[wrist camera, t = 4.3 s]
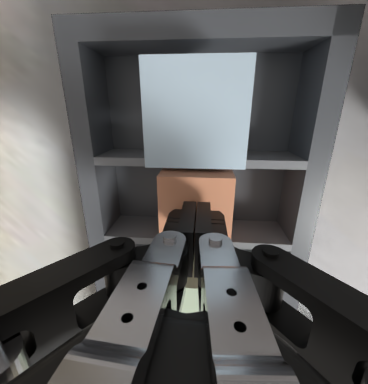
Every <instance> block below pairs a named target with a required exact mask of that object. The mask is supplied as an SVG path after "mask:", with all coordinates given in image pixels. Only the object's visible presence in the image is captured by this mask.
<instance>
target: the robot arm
mask: <svg viewBox="0 0 368 384" xmlns="http://www.w3.org/2000/svg"><path fill="white" fill-rule="evenodd" d="M193 264H194V278H198V310H199V312H193V313H182V312H181V311H182V306H183V301H184V296H185V291H186V284H187V278H188V277H193ZM103 277H104V280H105V288H103V289H101V290H99V291H98V292H96V293H94V294H93V295H91V296H89V297H87V298H86V299H84V300H82V301H80V302H79V303H77V304H75V305H74V306H73V299H74V297H75V295H76V294H77V293H78V292H79V291H80V290H81V289H83V288H85V287H87V286H88V285H90V284H92V283H94V282H96V281H98V280H99V279H101V278H103ZM284 292H286V293H287V294H289V295H290V296H292V297H293V298H294V299H296V300H297V301H299V302H300V303H301V304H303V305H304V306H305V307H307V308H308V310H309V311H310V312H311V314H312V317H313V322H312V321H311V320H309V319H308V318H307V317H305V316H304V315H303V314H301V313H300V312H299V311H297V310H296V309H295V308H293V307H292V306H291V305H289V304H288V303H286V302H285V301H284V300H283V294H284ZM0 384H368V295H366V294H364V293H362V292H360V291H358V290H357V289H355V288H353V287H351V286H349V285H347V284H346V283H344V282H342V281H340V280H338V279H336V278H335V277H333V276H331V275H329V274H327V273H325V272H324V271H322V270H320V269H318V268H316V267H314V266H313V265H311V264H309V263H307V262H305V261H303V260H302V259H300V258H298V257H296V256H294V255H292V254H291V253H289V252H287V251H285V250H283V249H281V248H279V247H277V246H274V245H268V244H261V245H257V246H255V247H254V248H253V249H252V252H248V251H244V250H241V249H238V248H236V247H234V246H233V243H232V240H231V239H230V238H229V237H228V234H227V228H226V223H225V217H224V214H222V213H221V212H220V211H212V210H211V206H210V202H197V214H196V202H194V201H184V202H183V206H182V209H174V210H172V211H171V212H170V213H169V214H168V217H167V220H166V223H165V226H164V228H163V231H162V232H161V233H158V234H157V235H156V236H155V237H154V239H153V240H152V242H151V244H149V245H144V246H137V247H135V242H134V241H133V240H132V239H131V238H128V237H115V238H111V239H109V240H106V241H104V242H102V243H99V244H97V245H95V246H92V247H90V248H88V249H85V250H83V251H80V252H78V253H76V254H73V255H71V256H69V257H66V258H64V259H62V260H59V261H57V262H55V263H52V264H50V265H48V266H45V267H43V268H41V269H38V270H36V271H34V272H31V273H29V274H27V275H24V276H22V277H20V278H17V279H15V280H13V281H10V282H8V283H6V284H3V285H1V286H0Z"/></svg>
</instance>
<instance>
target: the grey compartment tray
mask: <svg viewBox="0 0 368 384" xmlns="http://www.w3.org/2000/svg"><path fill="white" fill-rule="evenodd" d="M365 5H366V4H351V5H321V6H291V7H261V8H231V9H201V10H171V11H141V12H111V13H81V14H51V16H52V23H53V29H54V35H55V41H56V47H57V53H58V59H59V65H60V71H61V78H62V84H63V90H64V96H65V102H66V108H67V114H68V120H69V126H70V133H71V139H72V145H73V151H74V157H75V163H76V169H77V175H78V181H79V188H80V194H81V200H82V206H83V212H84V218H85V224H86V230H87V236H88V243H89V248H90V247H92V246H95V245H97V244H99V243H102V242H104V241H106V240H109V239H111V238H115V237H128V238H131V239H132V240H133V241H134V242H135V247H137V246H144V245H149V244H151V242H152V240H153V239H154V237H155V236H156V235H157V234H158V233H159V221H158V197H157V175H158V174H159V173H160V171H161V170H162V168H145V157H144V140H143V123H142V106H141V88H140V71H139V54H193V53H248V52H257V55H256V65H255V75H254V86H253V96H252V107H251V117H250V128H249V138H248V148H247V159H246V169H245V170H235V169H232V171H233V173H234V175H235V177H236V186H235V198H234V210H233V222H232V234H231V240H232V243H233V246H234V247H236V248H238V249H241V250H244V251H248V252H252V249H253V248H254V247H255V246H257V245H261V244H268V245H274V246H277V247H279V248H281V249H283V250H285V251H287V252H289V253H291V254H292V255H294V256H296V257H298V258H300V259H302V260H303V261H305V262H307V263H308V259H309V255H310V250H311V246H312V241H313V237H314V232H315V228H316V224H317V219H318V215H319V210H320V206H321V201H322V197H323V192H324V188H325V183H326V179H327V174H328V170H329V165H330V161H331V157H332V152H333V148H334V143H335V139H336V134H337V130H338V125H339V121H340V116H341V112H342V107H343V103H344V98H345V94H346V90H347V85H348V81H349V76H350V72H351V67H352V63H353V58H354V54H355V49H356V45H357V40H358V36H359V31H360V27H361V23H362V18H363V14H364V9H365ZM95 285H96V291H97V292H98V291H99V290H101V289H103V288H105V280H104V277H103V278H101V279H99V280H98V281H96V282H95ZM283 300H284V301H285V302H286V303H288V304H289V305H291V306H292V307H293V308H295V309H296V310H297V308H298V304H299V301H297V300H296V299H294V298H293V297H292V296H290V295H289V294H287V293H286V292H284V294H283Z"/></svg>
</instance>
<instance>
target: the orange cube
mask: <svg viewBox="0 0 368 384" xmlns="http://www.w3.org/2000/svg"><path fill="white" fill-rule="evenodd" d="M235 186H236V177H235V175H234V173H233V171H232V169H189V168H162V170H161V171H160V173H159V174H158V175H157V197H158V221H159V233H161V232H162V231H163V228H164V226H165V223H166V220H167V217H168V214H169V213H170V212H171V211H172V210H174V209H182V206H183V202H184V201H194V202H196V214H197V202H210V206H211V210H212V211H220V212H221V213H222V214H224V217H225V223H226V228H227V234H228V237H229V238H230V239H231V234H232V222H233V210H234V198H235Z"/></svg>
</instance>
